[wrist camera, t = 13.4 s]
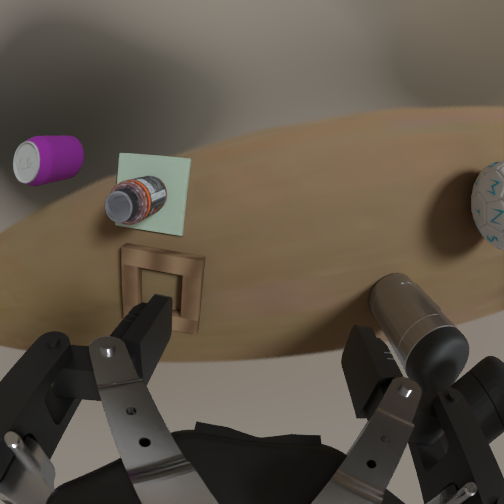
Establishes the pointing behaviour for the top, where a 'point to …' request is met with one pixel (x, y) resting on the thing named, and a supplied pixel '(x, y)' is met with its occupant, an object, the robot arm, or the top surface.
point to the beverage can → (47, 159)
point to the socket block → (170, 263)
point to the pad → (175, 181)
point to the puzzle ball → (490, 204)
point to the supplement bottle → (135, 199)
